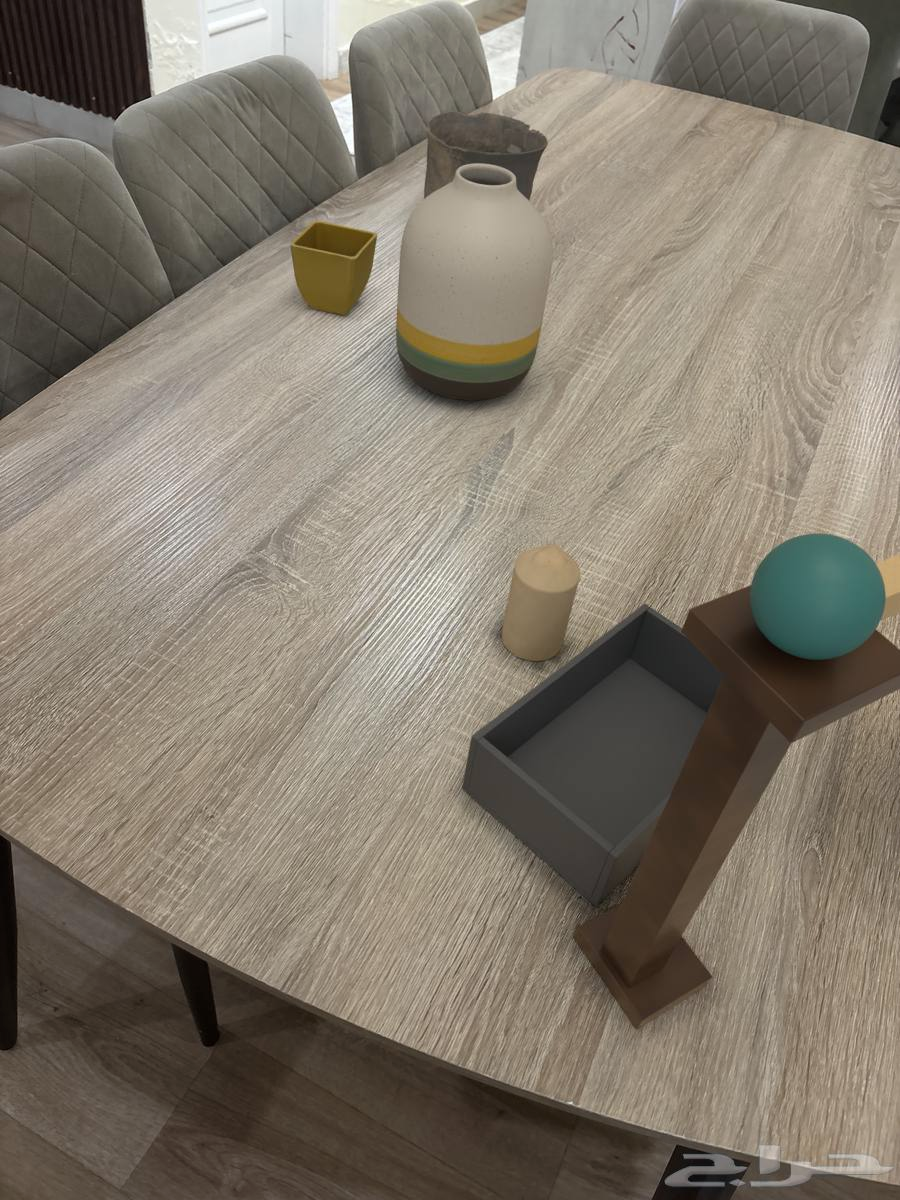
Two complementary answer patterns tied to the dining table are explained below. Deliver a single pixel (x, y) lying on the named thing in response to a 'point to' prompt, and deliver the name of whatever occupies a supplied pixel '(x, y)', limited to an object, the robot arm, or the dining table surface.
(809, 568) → the rattle
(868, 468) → the dining table surface
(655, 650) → the bin
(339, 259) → the flower pot
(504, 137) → the dark brown chipped pot
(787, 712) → the stand
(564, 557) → the candle
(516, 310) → the vase
